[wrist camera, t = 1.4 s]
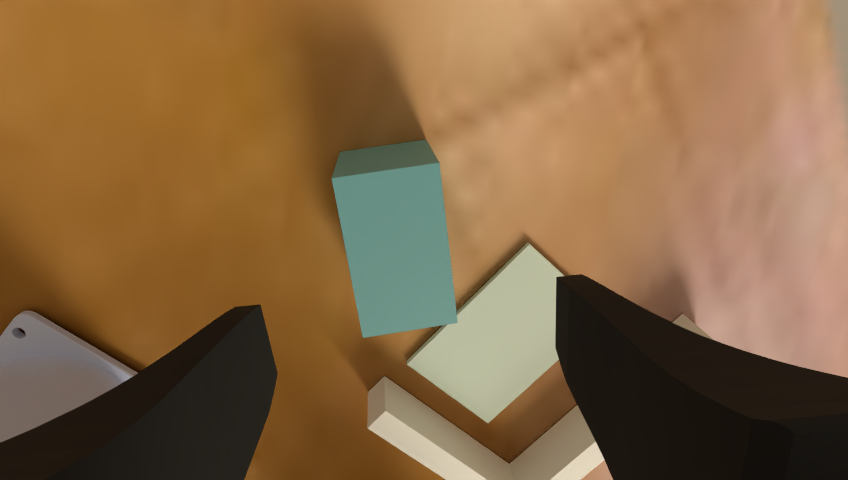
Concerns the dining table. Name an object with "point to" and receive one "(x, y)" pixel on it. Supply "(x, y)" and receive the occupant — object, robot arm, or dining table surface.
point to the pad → (496, 337)
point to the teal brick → (395, 237)
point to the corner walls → (471, 461)
